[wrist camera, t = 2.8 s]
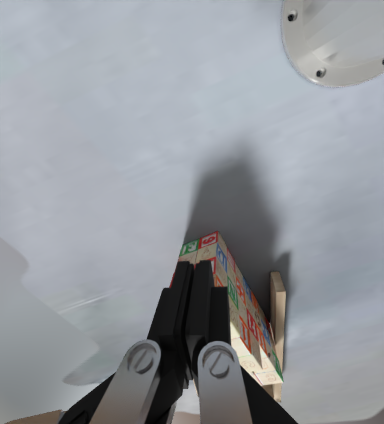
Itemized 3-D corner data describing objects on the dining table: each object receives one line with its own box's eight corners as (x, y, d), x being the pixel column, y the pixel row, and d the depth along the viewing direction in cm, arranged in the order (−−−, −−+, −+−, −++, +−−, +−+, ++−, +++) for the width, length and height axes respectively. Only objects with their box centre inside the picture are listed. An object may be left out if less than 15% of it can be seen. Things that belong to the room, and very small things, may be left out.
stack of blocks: (270, 323, 38) (290, 411, 27) (238, 330, 40) (243, 415, 29) (217, 229, 31) (215, 297, 20) (181, 244, 33) (160, 313, 22)
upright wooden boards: (278, 271, 32) (285, 291, 29) (275, 378, 45) (280, 402, 41) (175, 274, 35) (169, 293, 32) (199, 374, 48) (197, 395, 44)
